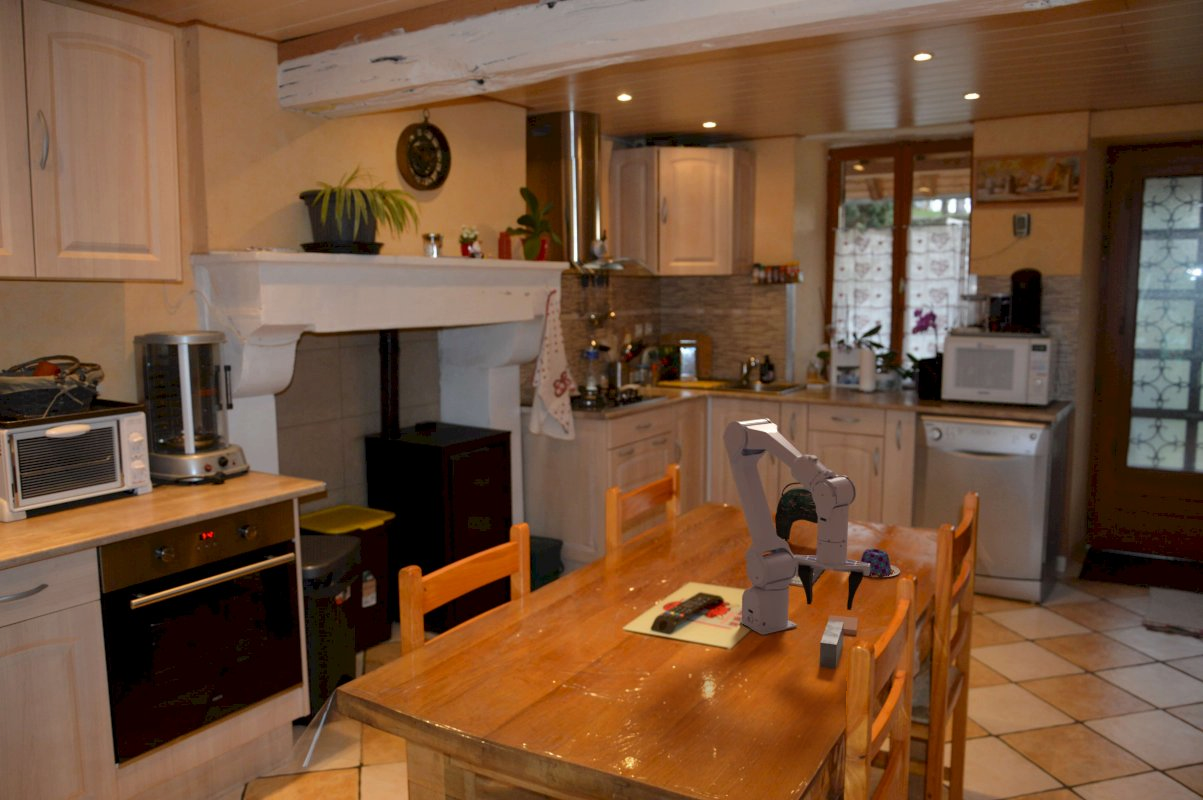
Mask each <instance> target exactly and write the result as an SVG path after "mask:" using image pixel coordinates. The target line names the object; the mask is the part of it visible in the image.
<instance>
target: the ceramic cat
mask: <svg viewBox="0 0 1203 800" xmlns="http://www.w3.org/2000/svg"><path fill="white" fill-rule="evenodd" d="M792 485H801V484H800V483H799V482H798V481H797V482H790V483H788V484H787V485H785V487H783V489H782V492H781V494H780V495H781V496H780V498H779V500H778V501H779V502H778V503H777V507H776V513H775V516H774V521H775V530H776V533H777V536H778V537H780V538H781V539H785V540H784V541H786V540H787V539H788V540H790V537H791V536H790V535H791V530H792V527H793V524H794V523H795V522H797V521H806V522H810V523H813V524H817V525H818V516H817V513H816V505H815V503H814V501H813V497H812V493H811V492H810V491H809V490H807V489H806V488H805V487H804V486H803V487H800V486H798V487H793V488H791V489H789V490H786V489H787V488H789V487H790V486H792ZM785 490H786V492H784V491H785ZM788 540H787V541H788Z"/></svg>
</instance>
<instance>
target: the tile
mask: <svg viewBox="0 0 1203 800" xmlns="http://www.w3.org/2000/svg"><path fill="white" fill-rule="evenodd" d="M828 620H831V621H838V622H844V631H843V635H852V636H857V632H858V624H859V618H858V617H852V616H851V617H850V616H840V615H831V614H828V618H827V621H828Z"/></svg>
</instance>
